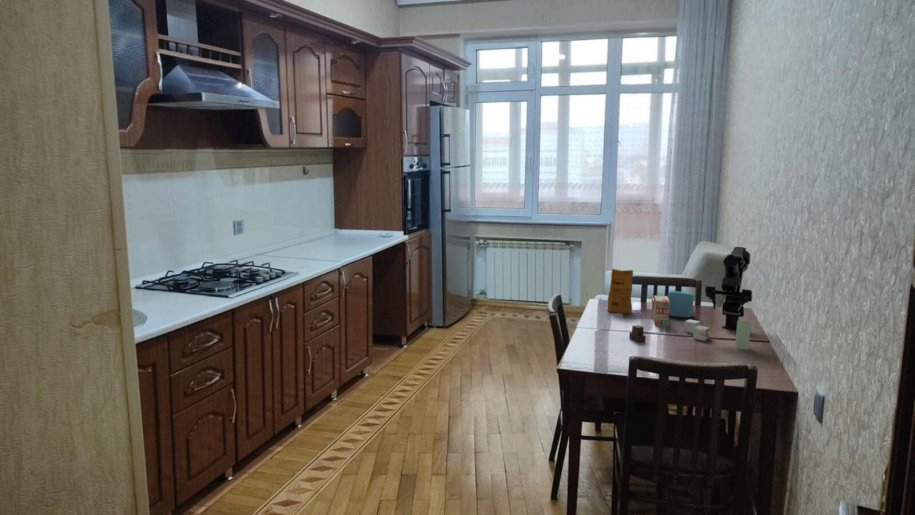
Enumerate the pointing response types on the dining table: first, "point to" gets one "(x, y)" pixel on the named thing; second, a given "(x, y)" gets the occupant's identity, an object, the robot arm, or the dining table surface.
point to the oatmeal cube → (701, 333)
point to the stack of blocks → (660, 310)
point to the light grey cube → (691, 325)
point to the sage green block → (743, 335)
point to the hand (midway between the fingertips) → (725, 310)
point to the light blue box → (681, 303)
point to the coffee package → (620, 291)
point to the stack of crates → (637, 334)
